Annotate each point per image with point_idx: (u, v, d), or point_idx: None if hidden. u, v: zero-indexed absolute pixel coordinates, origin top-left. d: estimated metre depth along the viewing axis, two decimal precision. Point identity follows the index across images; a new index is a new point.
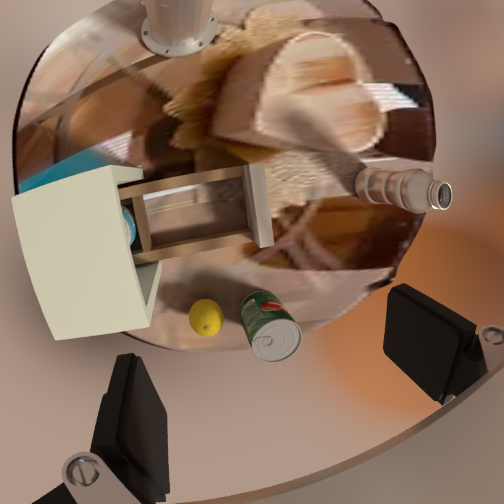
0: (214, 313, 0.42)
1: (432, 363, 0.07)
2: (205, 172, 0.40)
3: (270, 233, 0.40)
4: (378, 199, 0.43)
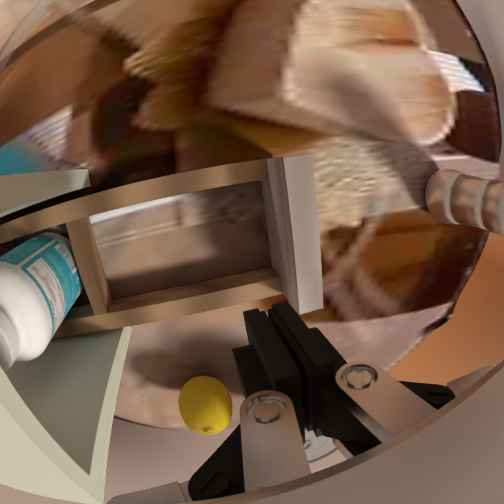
0: (218, 408, 0.24)
1: None
2: (194, 172, 0.21)
3: (318, 288, 0.21)
4: (465, 220, 0.24)
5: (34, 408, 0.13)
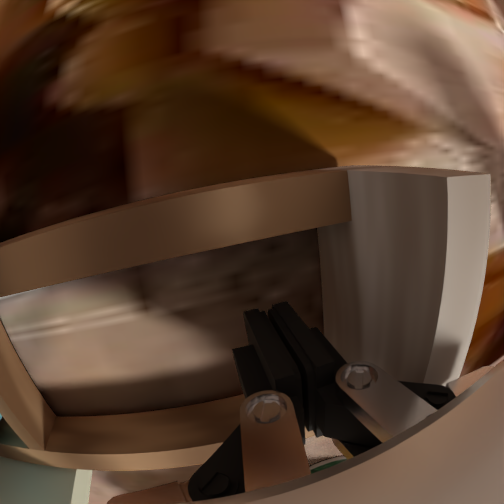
0: None
1: None
2: (160, 207, 0.07)
3: None
4: None
5: None
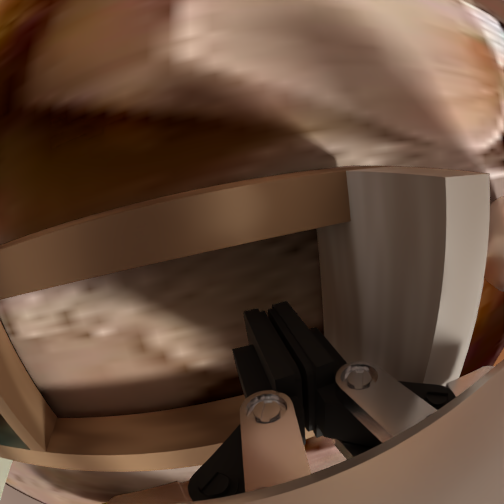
0: None
1: None
2: (158, 209, 0.07)
3: None
4: None
5: None
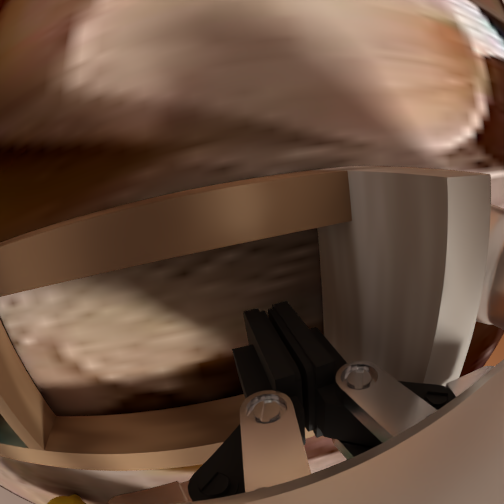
0: None
1: None
2: (160, 207, 0.07)
3: None
4: None
5: None
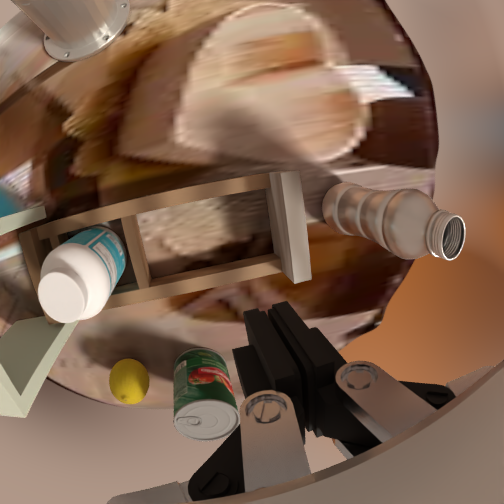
0: (131, 382, 0.30)
1: None
2: (218, 182, 0.30)
3: (307, 264, 0.30)
4: (353, 231, 0.31)
5: (4, 364, 0.20)
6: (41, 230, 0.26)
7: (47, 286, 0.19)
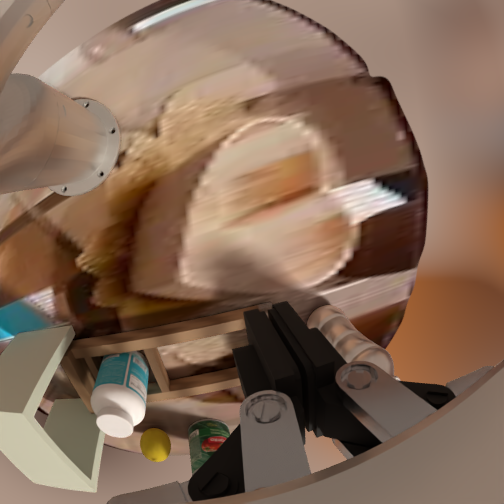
0: (159, 449, 0.37)
1: None
2: (220, 324, 0.36)
3: None
4: None
5: (63, 449, 0.27)
6: (76, 352, 0.33)
7: (104, 420, 0.25)
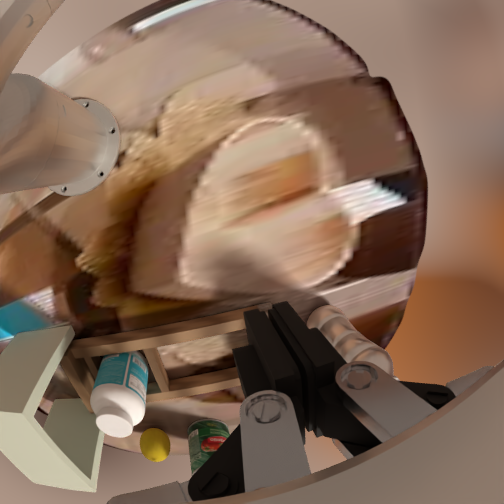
0: (158, 448, 0.37)
1: None
2: (220, 324, 0.36)
3: None
4: None
5: (63, 449, 0.27)
6: (75, 352, 0.33)
7: (103, 420, 0.25)
